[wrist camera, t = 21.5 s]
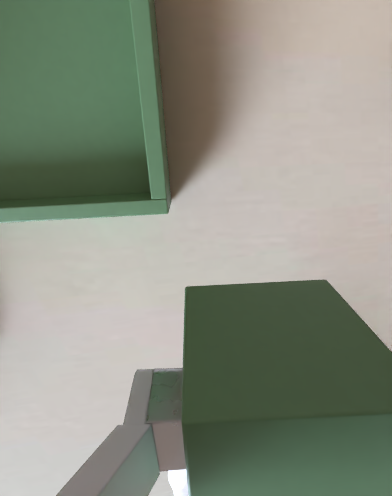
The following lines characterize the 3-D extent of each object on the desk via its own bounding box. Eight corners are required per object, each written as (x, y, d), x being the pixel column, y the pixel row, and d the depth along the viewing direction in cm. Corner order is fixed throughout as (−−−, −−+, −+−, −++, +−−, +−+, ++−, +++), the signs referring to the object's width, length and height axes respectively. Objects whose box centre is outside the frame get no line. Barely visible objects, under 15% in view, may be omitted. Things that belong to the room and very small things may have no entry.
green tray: (-180, -100, 12) (-274, -159, 9) (144, -117, 12) (132, -180, 9) (-54, 214, 17) (-94, 228, 15) (171, 202, 17) (168, 214, 15)
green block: (184, 285, 9) (180, 422, 5) (326, 278, 9) (445, 408, 5) (192, 388, 11) (193, 552, 7) (310, 382, 11) (386, 542, 7)
